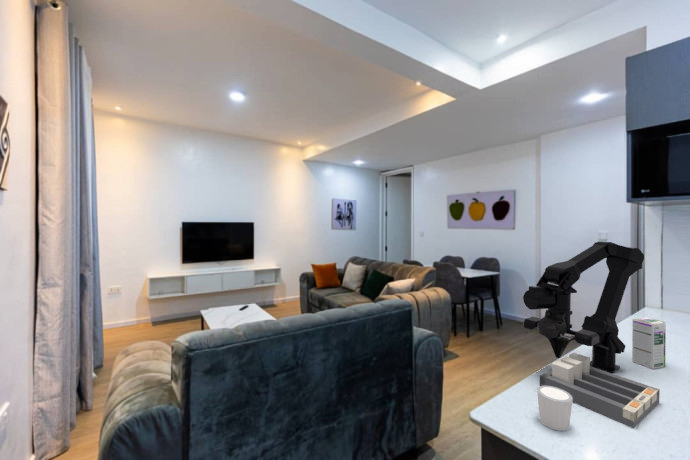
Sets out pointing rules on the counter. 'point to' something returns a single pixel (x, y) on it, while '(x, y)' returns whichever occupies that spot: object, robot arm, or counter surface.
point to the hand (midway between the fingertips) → (558, 357)
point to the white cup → (554, 407)
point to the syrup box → (649, 342)
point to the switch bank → (609, 395)
